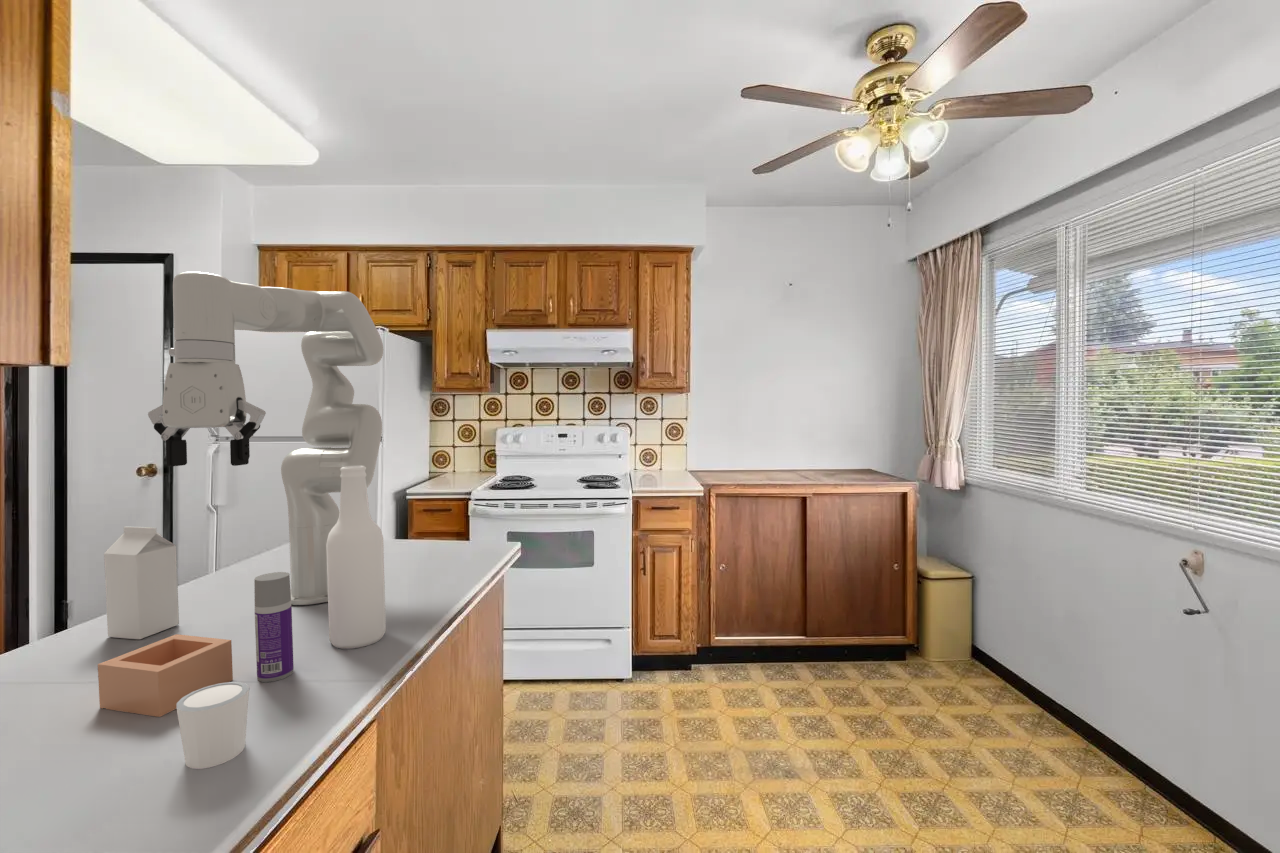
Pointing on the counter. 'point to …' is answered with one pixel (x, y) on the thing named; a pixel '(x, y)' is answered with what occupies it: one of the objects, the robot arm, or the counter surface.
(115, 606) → the milk carton
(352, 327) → the robot arm
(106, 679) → the tan open box
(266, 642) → the container
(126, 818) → the counter surface
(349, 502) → the alcohol
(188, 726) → the white cup
